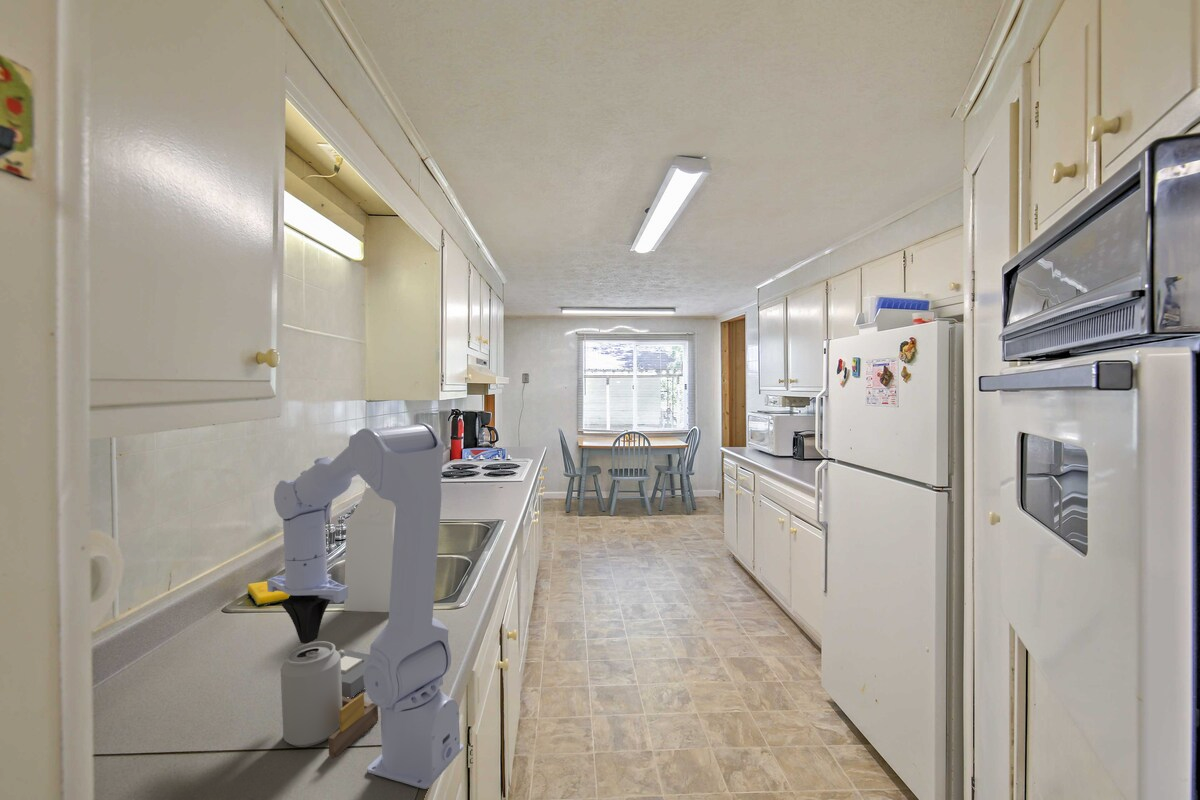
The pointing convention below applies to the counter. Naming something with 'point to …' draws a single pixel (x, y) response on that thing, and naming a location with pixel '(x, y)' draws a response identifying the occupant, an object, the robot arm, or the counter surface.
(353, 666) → the block
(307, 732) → the can
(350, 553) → the milk
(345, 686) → the panel
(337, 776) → the counter surface
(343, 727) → the lockout bracket
